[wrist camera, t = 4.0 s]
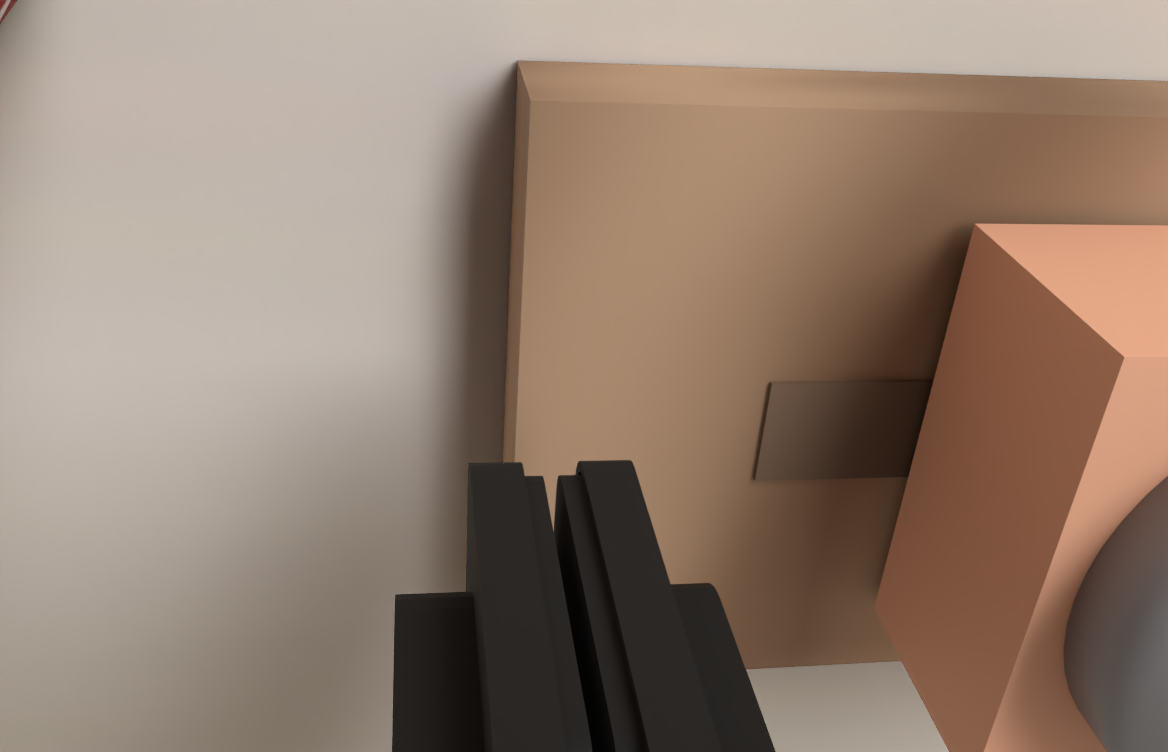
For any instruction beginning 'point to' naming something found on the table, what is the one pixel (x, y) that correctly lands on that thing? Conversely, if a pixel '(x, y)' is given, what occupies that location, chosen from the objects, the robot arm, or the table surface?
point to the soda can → (5, 8)
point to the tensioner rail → (778, 299)
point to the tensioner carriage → (1042, 499)
